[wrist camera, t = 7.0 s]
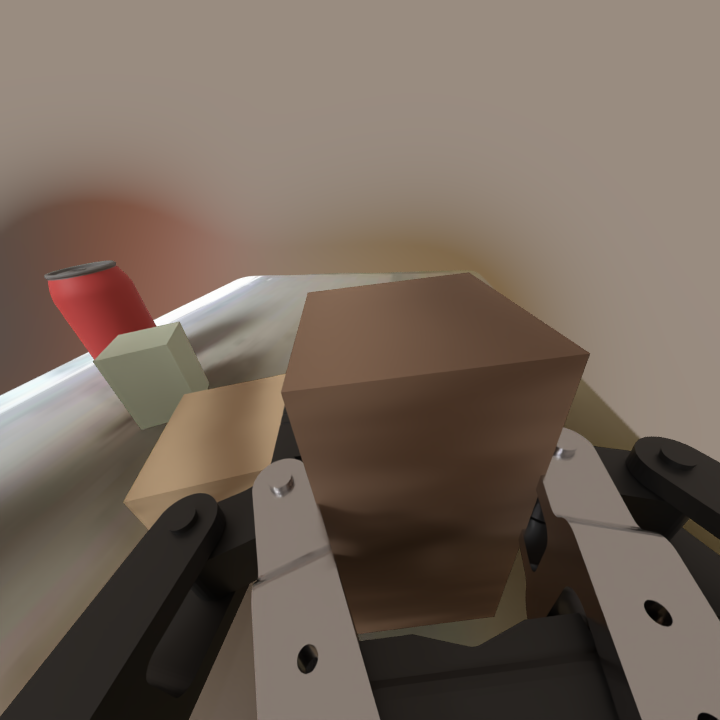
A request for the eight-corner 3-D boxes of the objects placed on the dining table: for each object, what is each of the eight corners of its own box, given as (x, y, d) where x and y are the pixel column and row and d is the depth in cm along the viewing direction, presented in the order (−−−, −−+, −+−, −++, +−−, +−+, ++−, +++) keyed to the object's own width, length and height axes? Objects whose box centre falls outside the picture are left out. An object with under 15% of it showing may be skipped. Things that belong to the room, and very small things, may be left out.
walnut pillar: (357, 633, 9) (280, 392, 4) (351, 503, 13) (307, 292, 8) (494, 616, 9) (590, 353, 4) (448, 491, 13) (468, 272, 8)
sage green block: (141, 430, 25) (92, 361, 21) (156, 397, 29) (118, 335, 25) (203, 412, 26) (166, 344, 22) (209, 383, 30) (179, 321, 26)
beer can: (101, 378, 34) (28, 275, 28) (159, 351, 38) (107, 258, 32) (123, 393, 30) (45, 279, 24) (184, 361, 35) (131, 259, 28)
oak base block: (161, 543, 16) (123, 502, 14) (204, 432, 24) (183, 394, 22) (317, 504, 17) (302, 460, 15) (311, 408, 25) (301, 370, 23)
